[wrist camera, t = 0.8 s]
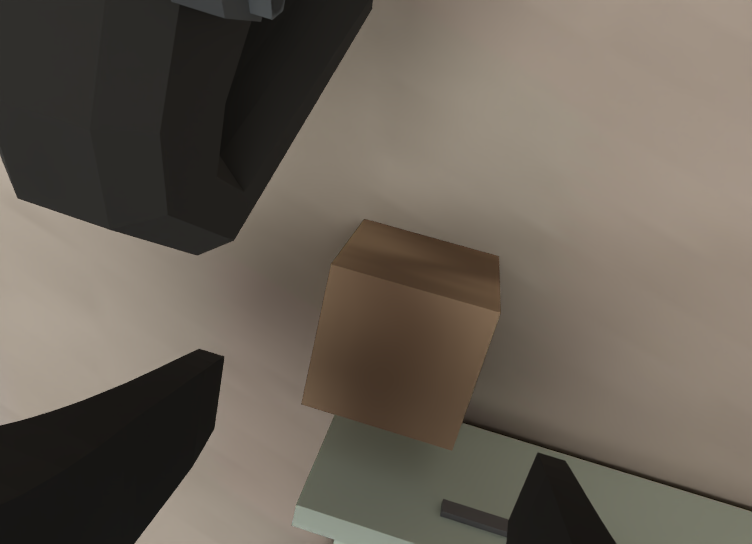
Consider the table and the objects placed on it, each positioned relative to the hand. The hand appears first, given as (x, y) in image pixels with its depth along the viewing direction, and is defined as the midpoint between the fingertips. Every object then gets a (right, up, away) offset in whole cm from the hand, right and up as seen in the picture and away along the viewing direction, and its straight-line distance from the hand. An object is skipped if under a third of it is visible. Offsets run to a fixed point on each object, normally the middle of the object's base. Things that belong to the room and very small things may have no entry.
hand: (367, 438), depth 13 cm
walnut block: (+2, +3, +7) cm, 8 cm away
